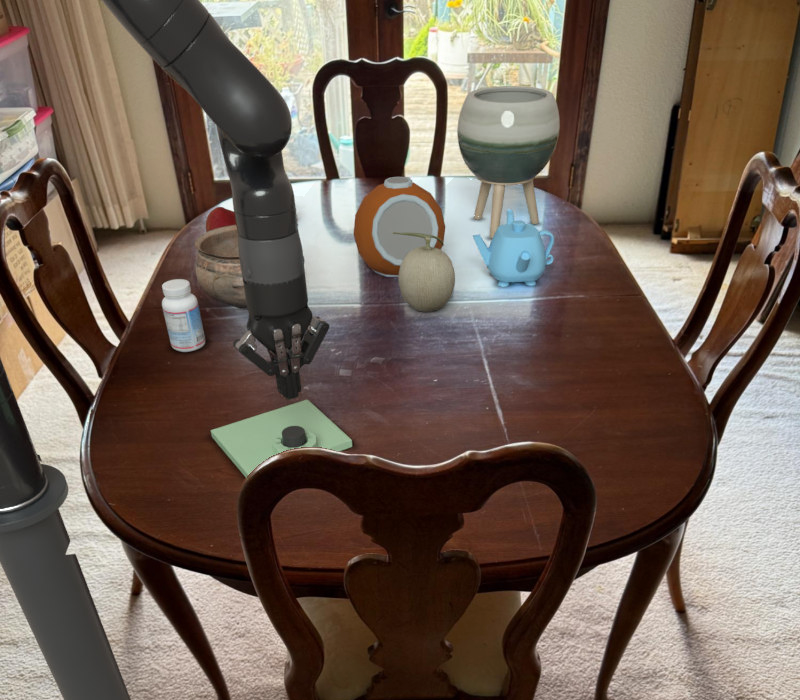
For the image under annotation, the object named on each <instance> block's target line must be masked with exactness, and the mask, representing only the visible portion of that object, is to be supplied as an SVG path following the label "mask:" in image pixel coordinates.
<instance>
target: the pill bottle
mask: <svg viewBox="0 0 800 700" xmlns="http://www.w3.org/2000/svg"><path fill="white" fill-rule="evenodd" d="M161 288H162V294H163V296H164V297H163V298H162V300H161V307H162V312H163V316H164V320H165V321H164V322H165V325H166V329H167V334H168V338H169V342H170V346H171V348H172V349H173V350H175V351H177V352H181V353H188V352H194V351H198V350H199V349H201V348H203V347H204V346H205V344H206V335H205V332H204V326H203V322H202V321H203V320H202V316H201V312H200V306H199V301H198V297H196V295H194V293H191V292H192V288H191V283H190V281H189V280H187V279H184V278H183V279H182V278H176V279H169V280H167V281H165V282H163V284H162V285H161Z"/></svg>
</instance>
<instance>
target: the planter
mask: <svg viewBox="0 0 800 700" xmlns="http://www.w3.org/2000/svg"><path fill="white" fill-rule="evenodd" d="M560 119H561V118H560V110H559V106H558V103H557V100H556V98H555V96H554V94H553V92H551V91H550V90H547V89H543V88H540V87H533V86H525V85H500V86H499V85H498V86H489V87H483V88H478V89H474V90H472V91H469V92H468V93H467V95H466V96H465V99H464V101H463V103H462V105H461V109H460V111H459V115H458V120H457V131H456V133H457V134H456V135H457V144H458V149H459V152H460V155H461V158H462V160H463V161H464V164H465V165H466V167H467V168H468V170H470V172H471V173H472V174H473V175H474V176H475V178H476V179H477V180H478V181H480V187H479V191H478V197H477V201H476V206H475V209H474V215H475V216H474V215H473V219H474V220H476V221H477V220H479V221H480V220H481V219H482V218H483V215H484V212H485V209H486V205H487V202H488V200H489V199H488V198H489V195H490V192H491V188H492V199H491V200H492V202H491V212H490V213H491V214H490V224H489V225H490V226H489V238H490V239H492V238H493V236H494V234H495V232H496V230H497V228H498V227H499V226H501V219H502V214H503V213H502V212H503V206H504V199H505V193H506V192H505V191H506V186H516V185H522V189H523V194H524V199H525V202H526V203H525V204H526V207H527V211H528V216H529V220H530V223H531V225H538V224H539V223H540V219H539V218H540V217H539V212H538V206H537V200H536V199H537V198H536V192H535V184H534V179H535V178H536V176H538V175H539V174H540V173H541V172H542V171H543V170H544V169H545V167H546V166H547V165H548V163H549V162H550V160H551V159H552V157H553V155H554V153H555V150H556V148H557V145H558V140H559V137H560V129H561V128H560V127H561V125H560V124H561V122H560V121H561V120H560ZM492 185H493V187H492ZM478 216H479V217H478Z"/></svg>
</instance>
